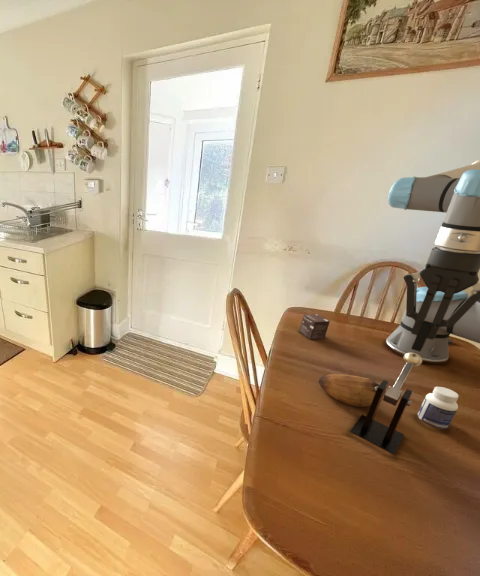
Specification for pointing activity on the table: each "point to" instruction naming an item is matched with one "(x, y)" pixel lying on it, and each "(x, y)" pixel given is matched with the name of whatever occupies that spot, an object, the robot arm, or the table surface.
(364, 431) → the black lever stand
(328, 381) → the potato
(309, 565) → the table surface
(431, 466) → the table surface
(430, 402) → the pill bottle
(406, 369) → the hinged lever
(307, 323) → the box
